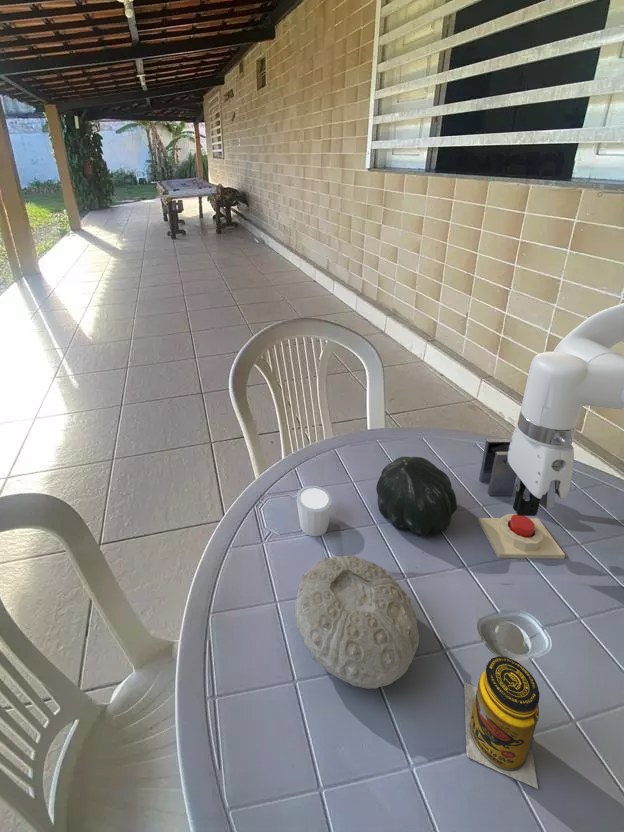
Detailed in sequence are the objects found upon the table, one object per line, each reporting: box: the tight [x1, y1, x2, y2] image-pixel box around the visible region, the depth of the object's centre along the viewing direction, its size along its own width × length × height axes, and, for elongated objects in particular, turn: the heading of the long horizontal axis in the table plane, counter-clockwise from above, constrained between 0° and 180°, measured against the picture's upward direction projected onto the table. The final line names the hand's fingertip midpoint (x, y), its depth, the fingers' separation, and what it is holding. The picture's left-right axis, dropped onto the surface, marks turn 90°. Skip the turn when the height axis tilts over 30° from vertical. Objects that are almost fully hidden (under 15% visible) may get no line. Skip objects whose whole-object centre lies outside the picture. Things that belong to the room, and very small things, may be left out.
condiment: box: [463, 655, 540, 790], centre depth 51 cm, size 7×8×12 cm
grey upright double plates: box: [478, 438, 516, 497], centre depth 88 cm, size 12×9×12 cm
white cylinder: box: [296, 485, 333, 537], centre depth 84 cm, size 7×7×7 cm
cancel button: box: [510, 513, 535, 538], centre depth 76 cm, size 4×4×2 cm
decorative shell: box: [294, 554, 420, 690], centre depth 63 cm, size 18×18×10 cm
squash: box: [375, 456, 458, 538], centre depth 83 cm, size 14×15×15 cm
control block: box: [477, 513, 566, 560], centre depth 77 cm, size 11×8×4 cm
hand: (524, 512), depth 75 cm, fingers closed
